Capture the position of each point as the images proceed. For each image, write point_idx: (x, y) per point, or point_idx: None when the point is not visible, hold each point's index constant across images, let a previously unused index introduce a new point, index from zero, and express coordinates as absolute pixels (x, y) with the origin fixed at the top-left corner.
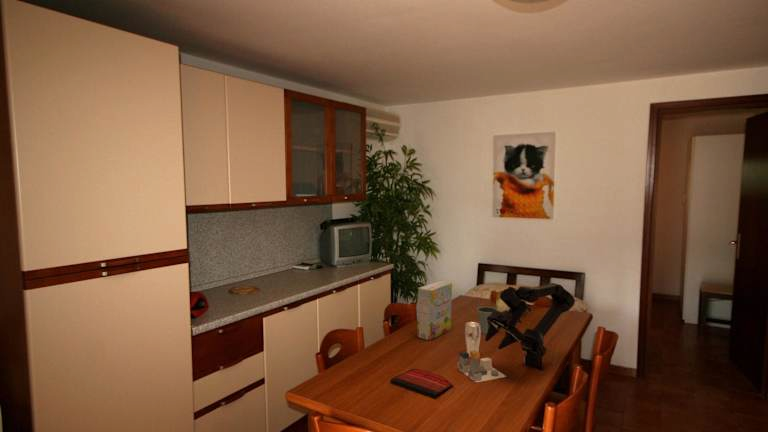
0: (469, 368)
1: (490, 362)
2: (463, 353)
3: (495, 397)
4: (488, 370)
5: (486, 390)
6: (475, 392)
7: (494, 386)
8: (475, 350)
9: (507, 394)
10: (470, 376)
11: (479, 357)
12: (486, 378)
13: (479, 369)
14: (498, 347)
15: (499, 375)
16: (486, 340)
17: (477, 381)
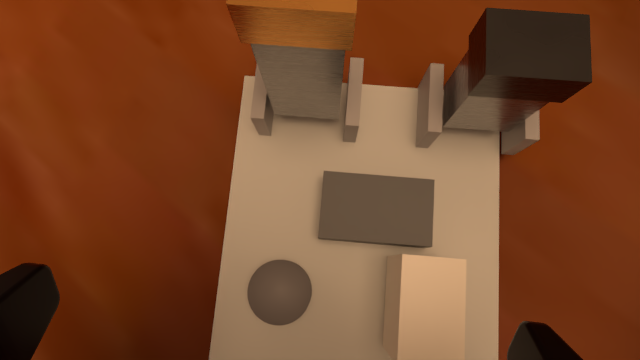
0: (423, 126)
1: (392, 340)
2: (512, 19)
3: (45, 87)
4: (374, 300)
5: (149, 96)
6: (166, 17)
7: (165, 184)
8: (343, 11)
9: (28, 186)
10: (346, 97)
11: (239, 31)
12: (259, 184)
13: (365, 188)
14: (26, 267)
15: (252, 320)
16: (516, 345)
17: (252, 92)
